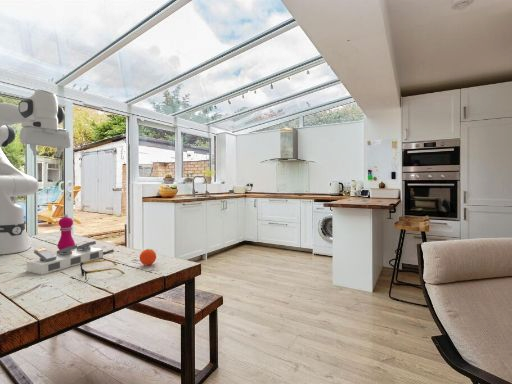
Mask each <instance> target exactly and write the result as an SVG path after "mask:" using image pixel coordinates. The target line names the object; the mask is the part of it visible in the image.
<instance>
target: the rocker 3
mask: <svg viewBox="0 0 512 384" xmlns="http://www.w3.org/2000/svg"><path fill="white" fill-rule="evenodd" d="M96 244H97V243H96V240H93V241H90V242H86V243H83V244H80V245H77V248H76V250H79V249H82V248H86V247H91V246H94V245H96Z"/></svg>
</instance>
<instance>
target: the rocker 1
mask: <svg viewBox="0 0 512 384" xmlns="http://www.w3.org/2000/svg"><path fill="white" fill-rule="evenodd" d="M33 253H34V254H35V255H36V256H37V257H39V258H42V259H43V260H44V261H46V262H48V261H52V260H56V257H57V256H55V255H56V254H54V253H52V252H51V251H50V250H48V249H47V248H46V247H40V248H36V249H34V250H33Z"/></svg>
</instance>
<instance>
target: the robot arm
mask: <svg viewBox="0 0 512 384" xmlns="http://www.w3.org/2000/svg"><path fill="white" fill-rule="evenodd" d="M33 93H34V94H32V95H31V96H29V97H28V98H23V99H22V100H20V101H19V102H18V105H17V104H14V103H10V102H0V255H9V254H10V255H11V254H16V253H21V252H25V251H28V250H29V249H30V248H32V244H31V245H30V242H29V235H28V234H29V233H28V232H27V231H26V225H25V224H26V223H25V222H24V221H25V220H24V219H25V217H24V214H25V213H24V208H23V207H22V206H21V205H20V204H17V203H14V202H13V201H12V199H11V198H12V197H26V196H30V195H34V194H36V193H37V192H38V189H39V182H38V180H37V179H36V178H35V177H34V176H32V175H29V174H26V173H24V172H23V171H20V170H19V169H17V168H16V167H15V166H14V165H13V164H12V162H10V160H9V158H8V157H7V156H6V153H4V151H3V150H2V147H8V145H10V144H11V143H13V141H14V140H15V139H16V129H15V128H14V127H13V126H11V125H18V124H21V127H22V128H20V131H19V141H20V143H21V144H23V145H29V148H30V150H31V151H32V155H33V156H39V155H40V154H39V153H40V151H38V150H37V149H36V148H37V146H38V147H40V146H41V147H49V148H50V147H51V148H56V150H57V152H54V157H56V158H60V157H61V153H62V152H63V150H64V149H70V147H71V138H70V132H69V131H68V130H67V129H66V128H65V129H64V128H59V125H60V124H62V123H63V121H64V120H65V119H66V112H65V110H64V108H63V107H62V106H61V105H60V104H58V98H57V95H56V94H55V93H54V92H52V91H48V90H44V89H36V90H34V92H33Z"/></svg>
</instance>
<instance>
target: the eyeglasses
mask: <svg viewBox="0 0 512 384" xmlns="http://www.w3.org/2000/svg"><path fill="white" fill-rule="evenodd" d="M102 262H110V263H112V264H113V265H114V266H117V265H118V264H117V263H116V262H114V261H112V260H110V259H105V260H104V259H103V260H92V261H89V262H81V263H80V264H79V268H80V271H81V275H82V277H83V276H84V277H85V279H84V280H87V274H93V273H98V272H105V271H112V270H115V271H119V272H120V273H121V274H123V275H124V274H125V271H122V270H120V269H119V268H116V267H115V268H105V269H103V268H102V269H94V270H85V269H84V268H83V265H88V264H89V265H90V264H95V263H102Z"/></svg>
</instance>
